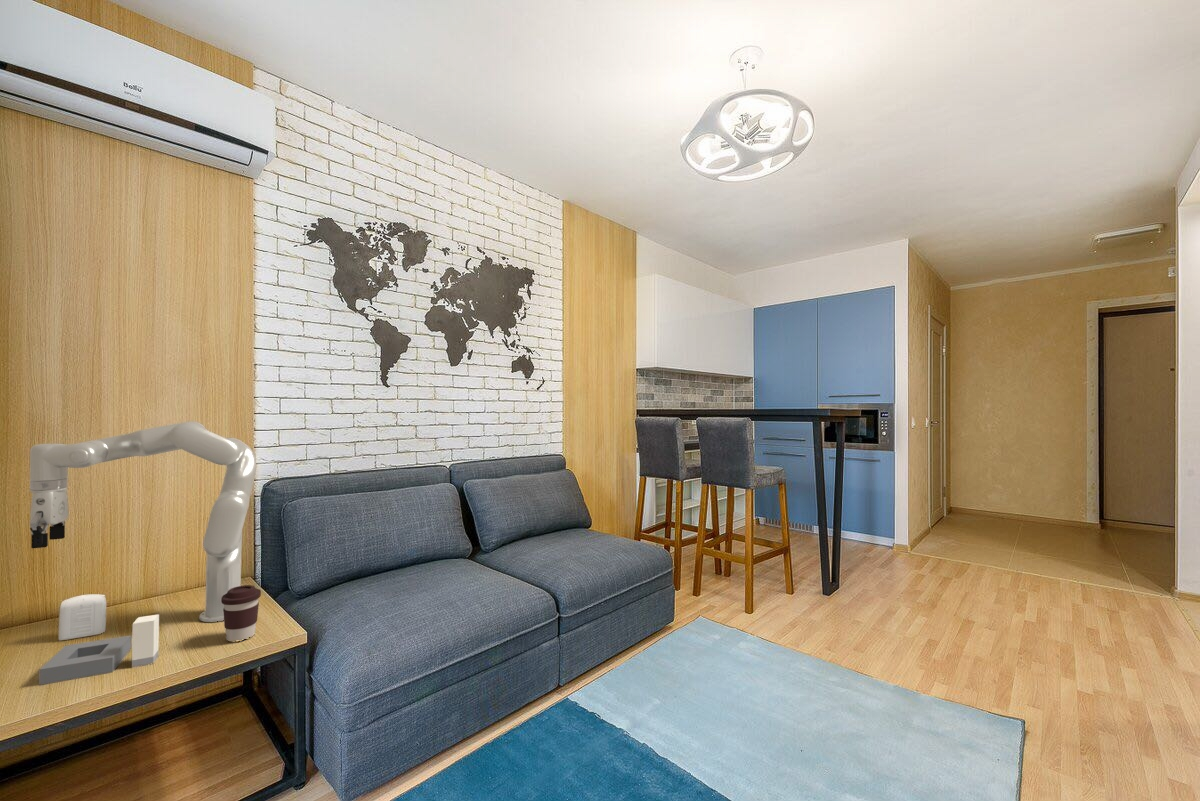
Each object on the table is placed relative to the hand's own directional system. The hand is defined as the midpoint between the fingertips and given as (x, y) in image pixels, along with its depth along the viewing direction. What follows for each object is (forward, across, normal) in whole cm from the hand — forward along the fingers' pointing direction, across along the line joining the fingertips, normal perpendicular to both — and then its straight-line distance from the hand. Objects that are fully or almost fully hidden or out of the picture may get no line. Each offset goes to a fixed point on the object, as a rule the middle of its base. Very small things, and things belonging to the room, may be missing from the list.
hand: (48, 543), depth 149 cm
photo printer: (+30, +3, -7) cm, 31 cm away
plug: (+30, -25, -29) cm, 49 cm away
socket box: (+30, -21, -16) cm, 40 cm away
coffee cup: (+30, -18, -50) cm, 61 cm away
